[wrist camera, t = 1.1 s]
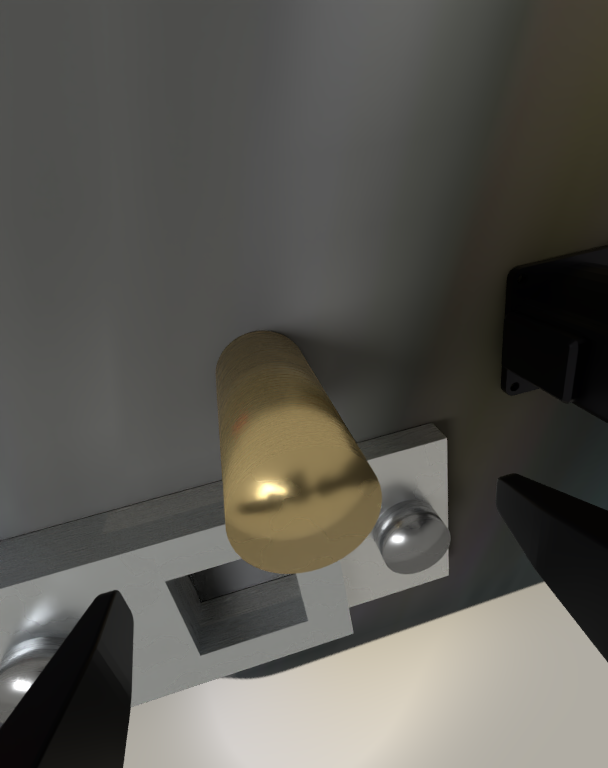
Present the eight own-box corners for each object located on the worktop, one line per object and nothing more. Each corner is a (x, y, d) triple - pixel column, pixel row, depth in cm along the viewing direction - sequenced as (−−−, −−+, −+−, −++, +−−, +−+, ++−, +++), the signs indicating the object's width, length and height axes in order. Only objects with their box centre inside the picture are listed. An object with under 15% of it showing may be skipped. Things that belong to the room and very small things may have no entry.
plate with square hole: (431, 422, 21) (484, 475, 17) (436, 555, 26) (478, 621, 22) (-38, 551, 19) (-103, 649, 15) (58, 675, 23) (27, 775, 19)
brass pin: (297, 321, 18) (375, 428, 10) (312, 401, 19) (387, 547, 11) (204, 343, 17) (205, 474, 9) (228, 423, 19) (246, 591, 11)
